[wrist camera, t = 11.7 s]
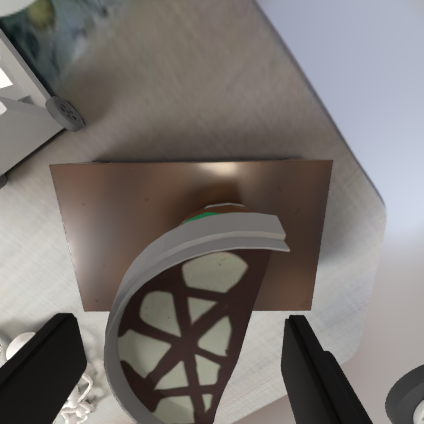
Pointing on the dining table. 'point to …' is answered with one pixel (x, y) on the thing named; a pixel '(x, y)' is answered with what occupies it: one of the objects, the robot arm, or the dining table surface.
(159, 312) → the food container
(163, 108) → the dining table surface
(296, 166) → the shelf
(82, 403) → the tangled rod sculpture
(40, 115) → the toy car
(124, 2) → the dining table surface
